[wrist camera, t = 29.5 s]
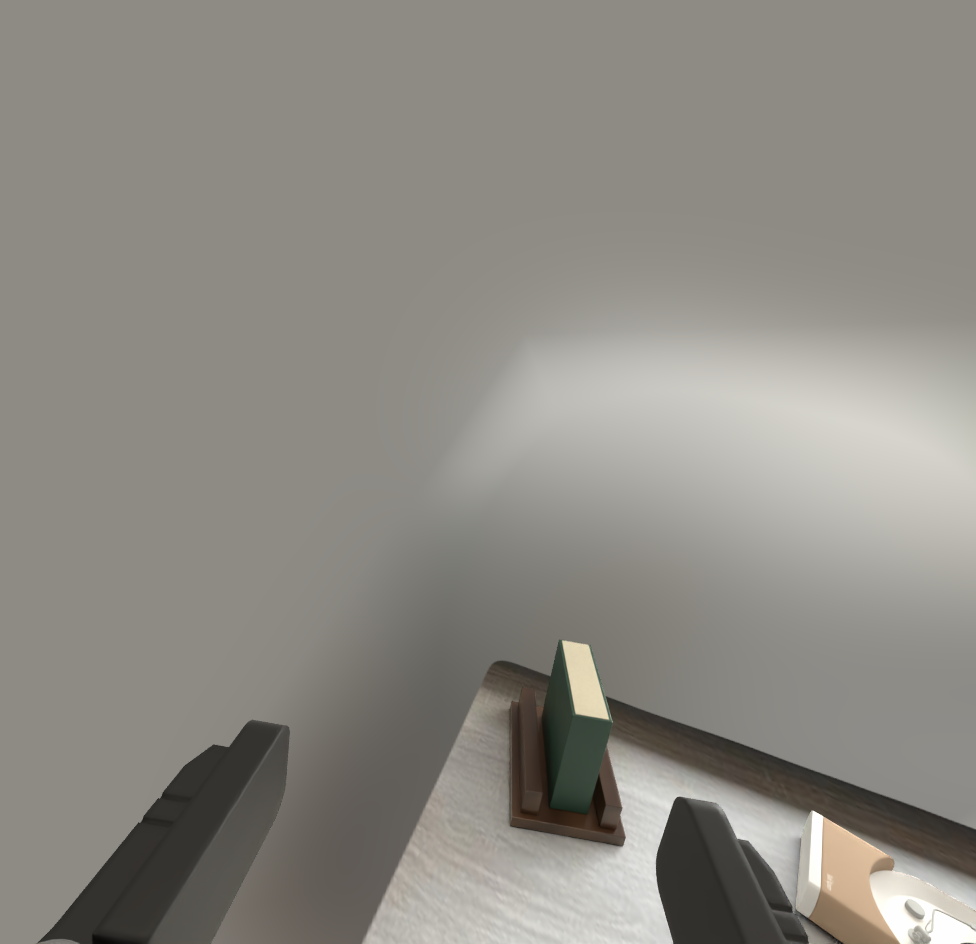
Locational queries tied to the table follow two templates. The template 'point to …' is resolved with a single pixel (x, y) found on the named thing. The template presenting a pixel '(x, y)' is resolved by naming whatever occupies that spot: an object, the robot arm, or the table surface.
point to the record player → (872, 894)
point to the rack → (533, 789)
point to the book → (574, 727)
